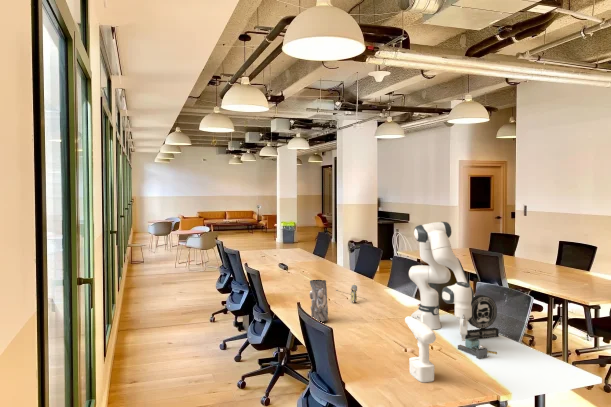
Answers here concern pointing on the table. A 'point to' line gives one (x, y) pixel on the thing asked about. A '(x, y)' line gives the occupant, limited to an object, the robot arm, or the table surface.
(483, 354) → the grey t-shaped bar
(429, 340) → the power drill
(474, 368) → the table surface
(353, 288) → the toy
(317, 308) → the sculpture
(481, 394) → the table surface
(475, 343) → the green knobbed cube
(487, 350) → the gold ball-headed pin
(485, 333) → the decorative sign
